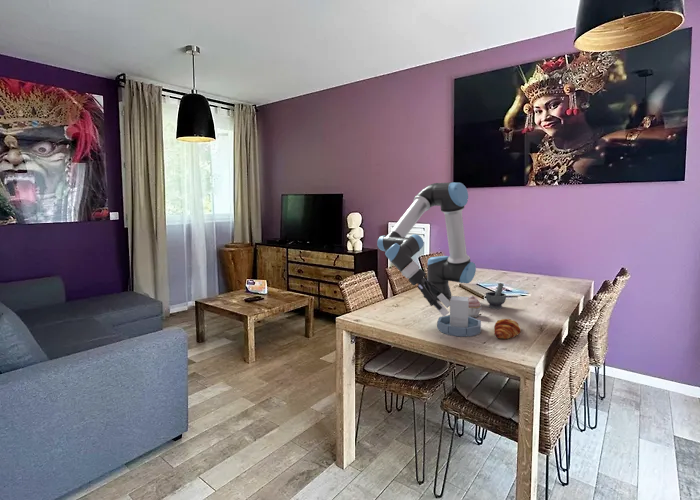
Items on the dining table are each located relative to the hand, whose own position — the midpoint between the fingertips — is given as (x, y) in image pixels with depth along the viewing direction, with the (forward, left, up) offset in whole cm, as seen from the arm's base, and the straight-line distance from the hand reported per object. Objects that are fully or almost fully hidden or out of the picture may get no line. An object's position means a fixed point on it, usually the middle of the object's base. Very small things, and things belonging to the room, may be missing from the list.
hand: (448, 310), depth 171 cm
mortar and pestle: (-41, +20, -8) cm, 46 cm away
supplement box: (0, +5, -7) cm, 9 cm away
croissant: (-1, +24, -8) cm, 26 cm away
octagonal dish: (0, +5, -8) cm, 9 cm away
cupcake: (-22, +9, -8) cm, 25 cm away
